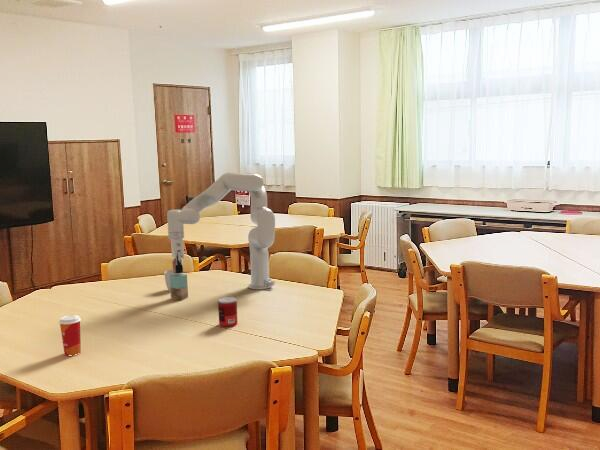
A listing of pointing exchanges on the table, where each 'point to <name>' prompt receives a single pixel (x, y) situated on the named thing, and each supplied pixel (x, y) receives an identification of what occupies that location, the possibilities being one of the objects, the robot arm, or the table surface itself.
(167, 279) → the cup
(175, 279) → the tower top
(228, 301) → the canned food
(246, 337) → the table surface
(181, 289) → the tower bottom
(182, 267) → the drum
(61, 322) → the paper cup
